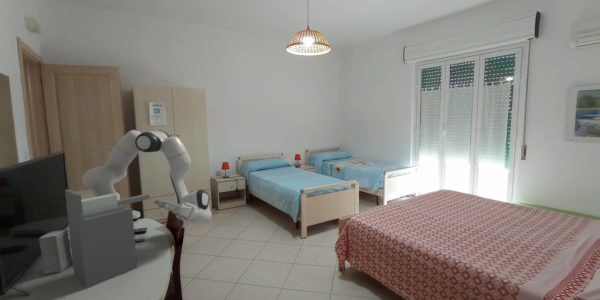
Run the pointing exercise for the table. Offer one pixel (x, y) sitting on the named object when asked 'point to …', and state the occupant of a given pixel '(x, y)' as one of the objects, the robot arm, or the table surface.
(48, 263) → the skincare box
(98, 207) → the pale block gray handle
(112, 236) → the caddy bay
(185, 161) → the robot arm
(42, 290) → the table surface
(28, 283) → the table surface
